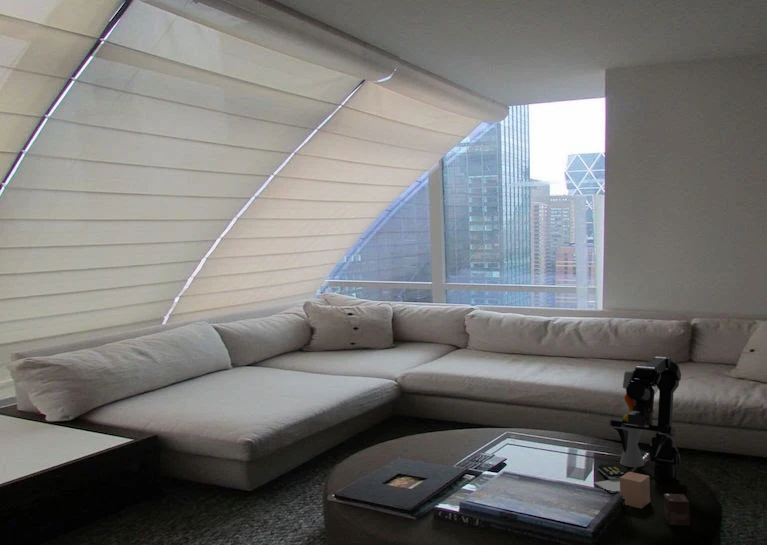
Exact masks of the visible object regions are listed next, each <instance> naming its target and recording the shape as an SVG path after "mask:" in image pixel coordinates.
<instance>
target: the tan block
mask: <svg viewBox="0 0 767 545" xmlns="http://www.w3.org/2000/svg"><path fill="white" fill-rule="evenodd" d="M650 479H651V478H650V475H647V474H642V473H638V472H631V471H628V472H626V473H625V474H624V475H623V476H621V477H620V493H619V495H620V494H622V496H623V498H624V499H625V505H624V506H628V505H629V507H633V508H637V509H643V508H645V507H646V506H647V505H648V504H650V503H651V486H650V484H651V483H650V482H651V481H650Z"/></svg>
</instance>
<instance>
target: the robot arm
mask: <svg viewBox="0 0 767 545" xmlns="http://www.w3.org/2000/svg"><path fill="white" fill-rule="evenodd" d="M632 371H633V373H632V376H631V379H630V381H629V383H630V384H629V385H628V386H627V388H626V389H625V394H627V395H628V397H629V398H631V399H633V400H634V401H635V404H634V406H633V410H632V411H631V412H628V413H627V414H628V422H627V421H626V420H624V419H623V418H617V417H612V418H611V419H610V421H609V426H610V427H612V428H613V430H614V431H616V432H617V433H618V436H619V438H620V441H621V445H622V450H624V452H626V450H627V441H628V431H627V430H626V428H634V429H641V430H642V431H647V432H648V431H649V432H656V433H655V435H654V436H653V437H652V438H651V443H650V444H649V445H650V446H649V454H650V455H649V456H650V462H654V466H653V473H654V474H653V475H652V478H654V479H656V480H658V481H659V482H662V483H663V484H664V483H666V484H667V483H671V482H677V481H680V478H678V477H677V465H680V464H681V456H680V453H679V450H678V448H677V443H676V440H675V438H674V437H676V428H675V427H674V426H673V408H674V393H675V391H676V390H677V388H679V386H680V381H681V379H682V373H681V370H680V367H679V365H678V364H676V363H675V362H673V361H672V360H671V358H670V357H668V356H663V355H662V356H661V355H660V356H659V355H657V356H654V357H653V358H652V360H651V361H650V362H647V364H645V365H644V364H640V365H636V366H635V368H634V369H632ZM653 387H657V389H658V390H659V396H658V397H659V398H658V414H657V425H655V424H654V423H653V420H654V416H653V415H654V413H655V410H654V404H655V394H656V391H655V389H654V388H653ZM636 426H638V427H636Z"/></svg>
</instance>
